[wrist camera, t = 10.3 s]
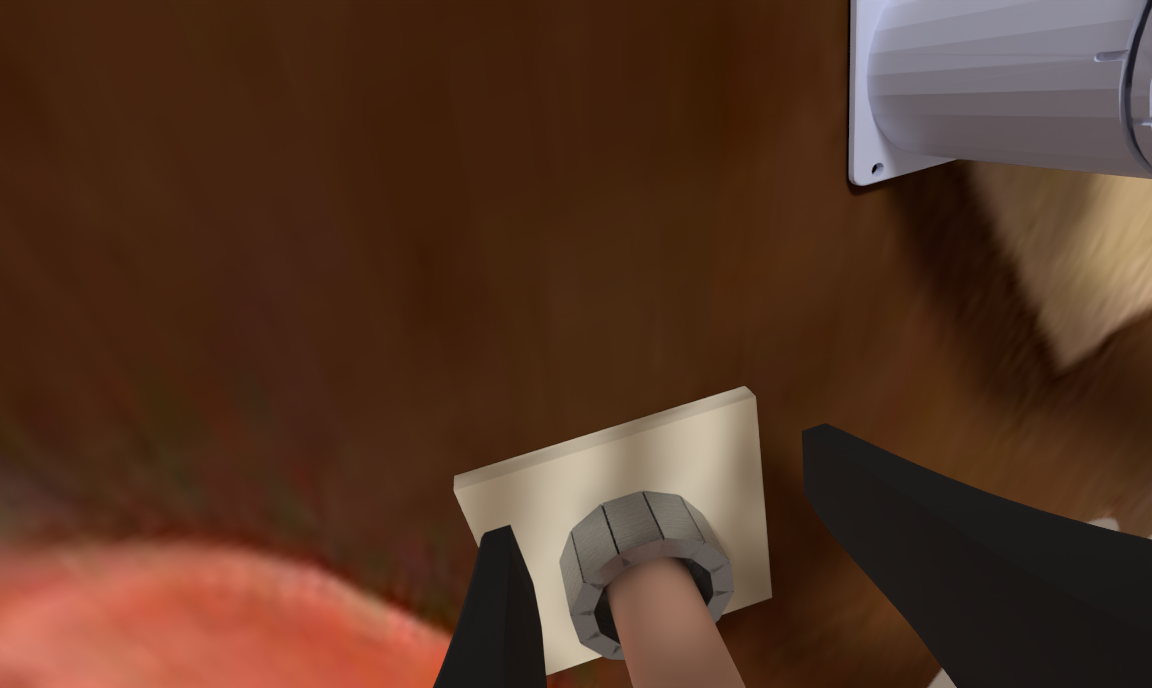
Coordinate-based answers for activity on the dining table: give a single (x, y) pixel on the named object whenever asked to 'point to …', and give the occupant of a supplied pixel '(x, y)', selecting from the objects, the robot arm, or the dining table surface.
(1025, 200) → the dining table surface
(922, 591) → the robot arm
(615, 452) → the socket board
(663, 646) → the peg
